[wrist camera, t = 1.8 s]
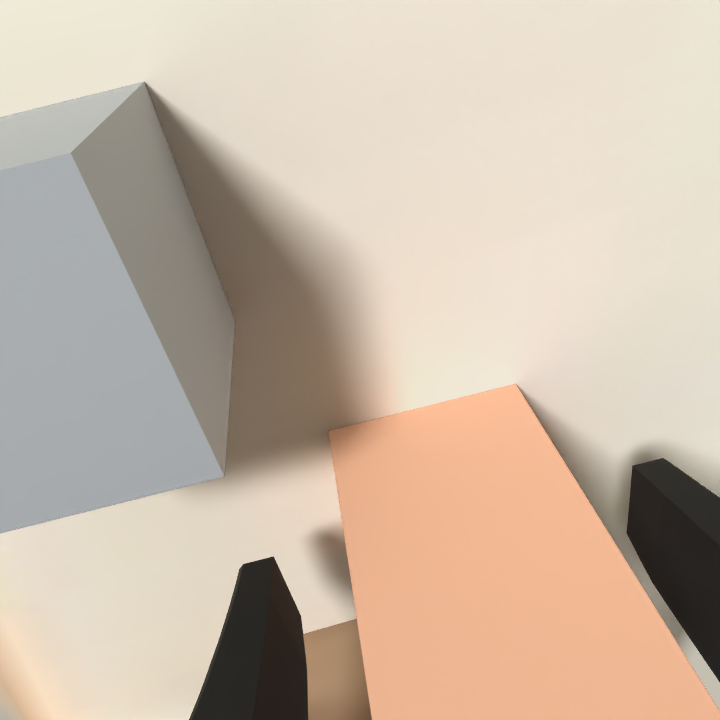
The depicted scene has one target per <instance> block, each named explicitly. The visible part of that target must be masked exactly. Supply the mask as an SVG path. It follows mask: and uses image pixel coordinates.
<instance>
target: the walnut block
mask: <svg viewBox="0 0 720 720" xmlns="http://www.w3.org/2000/svg"><path fill="white" fill-rule="evenodd" d="M303 637H304V645H305V654H306V663H307V681H308V720H372V716H371V710H370V703H369V696H368V690H367V683H366V677H365V670H364V663H363V657H362V650H361V643H360V637H359V630H358V624H357V619H355V620H351V621H348V622H344V623H341V624H337V625H334V626H330V627H327V628H323V629H320V630H316V631H313V632H309V633H306V634H303Z"/></svg>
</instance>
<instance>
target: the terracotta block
mask: <svg viewBox="0 0 720 720" xmlns="http://www.w3.org/2000/svg"><path fill="white" fill-rule="evenodd" d="M329 438H330V445H331V451H332V458H333V464H334V471H335V478H336V484H337V491H338V498H339V504H340V511H341V518H342V524H343V531H344V537H345V544H346V551H347V557H348V564H349V571H350V577H351V584H352V590H353V597H354V604H355V610H356V617H357V624H358V630H359V637H360V643H361V650H362V657H363V663H364V670H365V677H366V683H367V690H368V696H369V703H370V710H371V716H372V720H720V711H719V709H718V707H717V706H716V705H715V703H714V701H713V699H712V698H711V696H710V695H709V693H708V692H707V690H706V688H705V687H704V685H703V683H702V682H701V680H700V679H699V677H698V675H697V674H696V672H695V671H694V669H693V667H692V666H691V664H690V663H689V661H688V659H687V658H686V656H685V655H684V653H683V651H682V650H681V648H680V647H679V645H678V643H677V642H676V640H675V639H674V637H673V635H672V634H671V632H670V630H669V629H668V627H667V626H666V624H665V622H664V621H663V619H662V618H661V616H660V614H659V613H658V611H657V610H656V608H655V606H654V605H653V603H652V602H651V600H650V598H649V597H648V595H647V594H646V592H645V590H644V589H643V587H642V586H641V584H640V582H639V581H638V579H637V578H636V576H635V574H634V573H633V571H632V570H631V568H630V566H629V565H628V563H627V562H626V560H625V558H624V557H623V555H622V553H621V552H620V550H619V549H618V547H617V545H616V544H615V542H614V541H613V539H612V537H611V536H610V534H609V533H608V531H607V529H606V528H605V526H604V525H603V523H602V521H601V520H600V518H599V517H598V515H597V513H596V512H595V510H594V509H593V507H592V505H591V504H590V502H589V501H588V499H587V497H586V496H585V494H584V493H583V491H582V489H581V488H580V486H579V485H578V483H577V481H576V480H575V478H574V476H573V475H572V473H571V472H570V470H569V468H568V467H567V465H566V464H565V462H564V460H563V459H562V457H561V456H560V454H559V452H558V451H557V449H556V448H555V446H554V444H553V443H552V441H551V440H550V438H549V436H548V435H547V433H546V432H545V430H544V428H543V427H542V425H541V424H540V422H539V420H538V419H537V417H536V416H535V414H534V412H533V411H532V409H531V408H530V406H529V404H528V403H527V401H526V399H525V398H524V396H523V395H522V393H521V391H520V390H519V388H518V387H517V385H516V384H513V385H509V386H505V387H501V388H497V389H493V390H489V391H485V392H481V393H477V394H473V395H469V396H465V397H461V398H457V399H453V400H449V401H445V402H441V403H437V404H433V405H429V406H425V407H421V408H417V409H413V410H409V411H406V412H402V413H398V414H394V415H390V416H386V417H382V418H378V419H374V420H370V421H366V422H362V423H358V424H354V425H350V426H346V427H342V428H338V429H334V430H330V431H329Z"/></svg>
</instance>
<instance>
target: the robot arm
mask: <svg viewBox="0 0 720 720" xmlns="http://www.w3.org/2000/svg"><path fill="white" fill-rule="evenodd" d="M627 534H628V536H629V538H630V540H631V542H632V544H633V546H634V548H635V550H636V552H637V554H638V556H639V558H640V560H641V562H642V564H643V566H644V568H645V569H646V571H647V573H648V575H649V577H650V579H651V581H652V582H653V584H654V585H655V587H656V589H657V590H658V592H659V593H660V595H661V596H662V598H663V599H664V601H665V602H666V604H667V605H668V607H669V608H670V610H671V611H672V613H673V614H674V615H675V617H676V618H677V620H678V621H679V623H680V624H681V626H682V627H683V629H684V630H685V632H686V633H687V635H688V636H689V638H690V639H691V641H692V642H693V644H694V645H695V646H696V648H697V649H698V651H699V652H700V654H701V655H702V657H703V658H704V660H705V661H706V663H707V664H708V666H709V667H710V669H711V670H712V671H713V673H714V674H715V676H716V677H717V679H718V680H719V682H720V498H719V497H718V496H717V495H715V494H714V493H712V492H711V491H709V490H708V489H707V488H705V487H704V486H702V485H701V484H699V483H698V482H697V481H695V480H694V479H692V478H691V477H690V476H688V475H687V474H685V473H684V472H683V471H681V470H680V469H678V468H677V467H675V466H674V465H673V464H671V463H670V462H668V461H667V460H665V459H664V458H661V459H657V460H654V461H650V462H646V463H642V464H638V465H634V466H633V467H632V478H631V490H630V502H629V513H628V525H627ZM189 720H308V681H307V663H306V654H305V645H304V637H303V629H302V621H301V615H300V613H299V611H298V609H297V606H296V604H295V602H294V600H293V598H292V596H291V593H290V591H289V589H288V587H287V585H286V582H285V580H284V578H283V576H282V574H281V572H280V569H279V567H278V565H277V563H276V561H275V559H274V557H270V558H266V559H262V560H258V561H254V562H250V563H246V564H243V565H242V567H241V568H240V569H239V573H238V577H237V581H236V585H235V588H234V592H233V596H232V599H231V603H230V606H229V609H228V613H227V616H226V619H225V622H224V625H223V629H222V632H221V635H220V638H219V641H218V644H217V647H216V650H215V653H214V655H213V658H212V661H211V664H210V667H209V670H208V672H207V675H206V678H205V681H204V684H203V686H202V689H201V692H200V694H199V697H198V699H197V702H196V704H195V707H194V709H193V712H192V714H191V716H190V719H189Z"/></svg>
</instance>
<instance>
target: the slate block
mask: <svg viewBox="0 0 720 720" xmlns="http://www.w3.org/2000/svg"><path fill="white" fill-rule="evenodd" d="M234 332H235V319H234V316H233V314H232V311H231V309H230V306H229V303H228V301H227V298H226V295H225V293H224V290H223V287H222V285H221V282H220V280H219V277H218V274H217V272H216V269H215V266H214V264H213V261H212V258H211V256H210V253H209V250H208V248H207V245H206V243H205V240H204V237H203V235H202V232H201V229H200V227H199V224H198V221H197V219H196V216H195V214H194V211H193V208H192V206H191V203H190V200H189V198H188V195H187V192H186V190H185V187H184V184H183V182H182V179H181V177H180V174H179V171H178V169H177V166H176V163H175V161H174V158H173V155H172V153H171V150H170V148H169V145H168V142H167V140H166V137H165V134H164V132H163V129H162V126H161V124H160V121H159V118H158V116H157V113H156V111H155V108H154V105H153V103H152V100H151V97H150V95H149V92H148V89H147V87H146V84H145V82H141V83H137V84H133V85H129V86H125V87H121V88H117V89H113V90H109V91H105V92H101V93H96V94H92V95H88V96H84V97H80V98H76V99H72V100H68V101H64V102H60V103H56V104H52V105H48V106H44V107H40V108H36V109H32V110H28V111H24V112H20V113H16V114H12V115H8V116H4V117H0V533H4V532H8V531H12V530H16V529H20V528H24V527H28V526H32V525H36V524H40V523H44V522H47V521H51V520H55V519H59V518H63V517H67V516H71V515H75V514H79V513H83V512H87V511H91V510H95V509H99V508H103V507H107V506H111V505H115V504H119V503H123V502H127V501H131V500H135V499H139V498H143V497H147V496H151V495H155V494H159V493H162V492H166V491H170V490H174V489H178V488H182V487H186V486H190V485H194V484H198V483H202V482H206V481H210V480H214V479H218V478H222V477H225V464H226V449H227V434H228V420H229V405H230V391H231V376H232V362H233V347H234Z"/></svg>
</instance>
